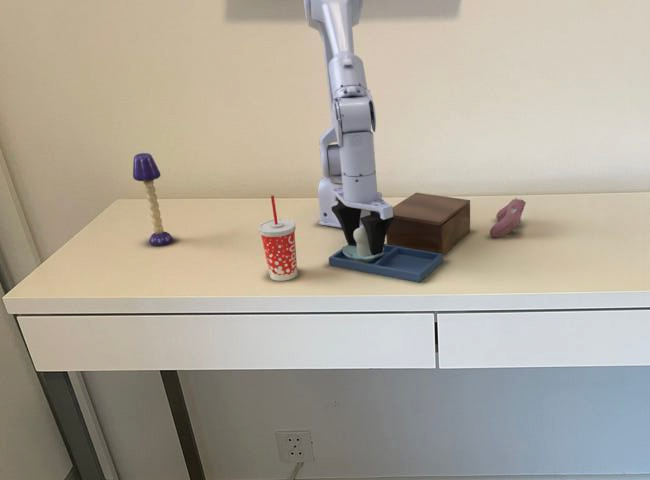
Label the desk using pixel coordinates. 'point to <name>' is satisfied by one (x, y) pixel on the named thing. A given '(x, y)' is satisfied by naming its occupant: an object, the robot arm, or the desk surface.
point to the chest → (430, 233)
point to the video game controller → (508, 218)
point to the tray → (393, 263)
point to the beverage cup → (279, 246)
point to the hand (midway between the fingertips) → (365, 248)
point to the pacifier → (360, 248)
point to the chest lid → (428, 208)
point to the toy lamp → (151, 195)
